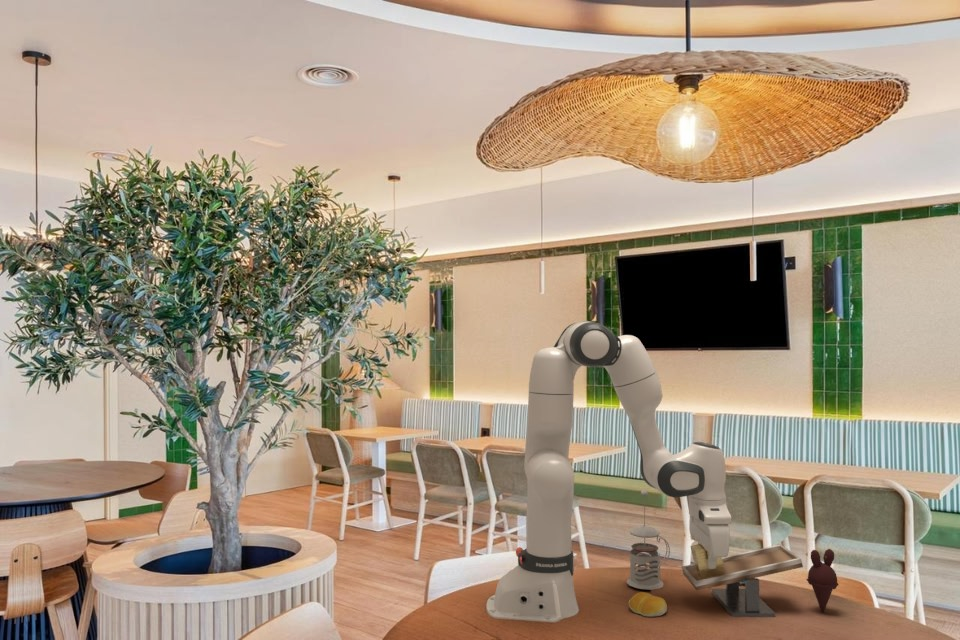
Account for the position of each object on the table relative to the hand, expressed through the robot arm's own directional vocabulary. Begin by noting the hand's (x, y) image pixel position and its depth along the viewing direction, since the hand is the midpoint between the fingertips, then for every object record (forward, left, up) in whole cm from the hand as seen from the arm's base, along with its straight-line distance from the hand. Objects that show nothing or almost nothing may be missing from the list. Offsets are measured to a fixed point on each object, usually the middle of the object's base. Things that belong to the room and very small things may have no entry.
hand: (707, 564), depth 174 cm
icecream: (+26, -4, -10) cm, 29 cm away
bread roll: (-12, -5, -11) cm, 17 cm away
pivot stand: (+8, 0, -10) cm, 13 cm away
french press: (-11, +16, -10) cm, 22 cm away
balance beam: (+8, 0, -2) cm, 9 cm away
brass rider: (+1, 0, -2) cm, 2 cm away
